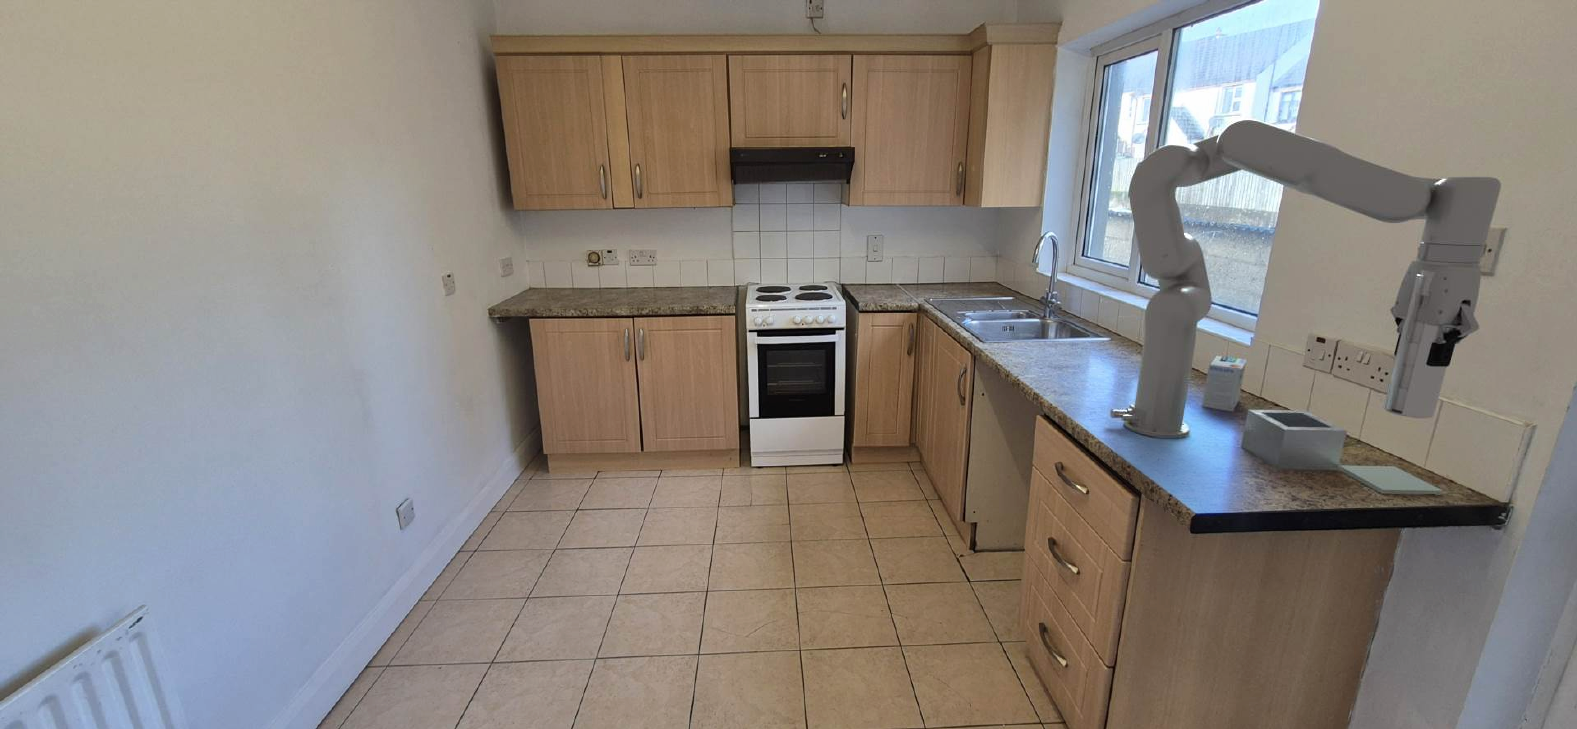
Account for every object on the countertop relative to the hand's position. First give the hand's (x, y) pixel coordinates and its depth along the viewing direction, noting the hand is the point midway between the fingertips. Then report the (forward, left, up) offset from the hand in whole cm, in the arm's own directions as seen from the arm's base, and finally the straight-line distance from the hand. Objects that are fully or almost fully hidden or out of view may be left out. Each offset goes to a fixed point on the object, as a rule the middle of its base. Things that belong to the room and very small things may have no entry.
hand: (1420, 359), depth 112 cm
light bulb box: (-5, +43, -23) cm, 49 cm away
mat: (0, 0, -23) cm, 23 cm away
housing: (-11, +10, -23) cm, 27 cm away
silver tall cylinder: (0, 0, -10) cm, 10 cm away
